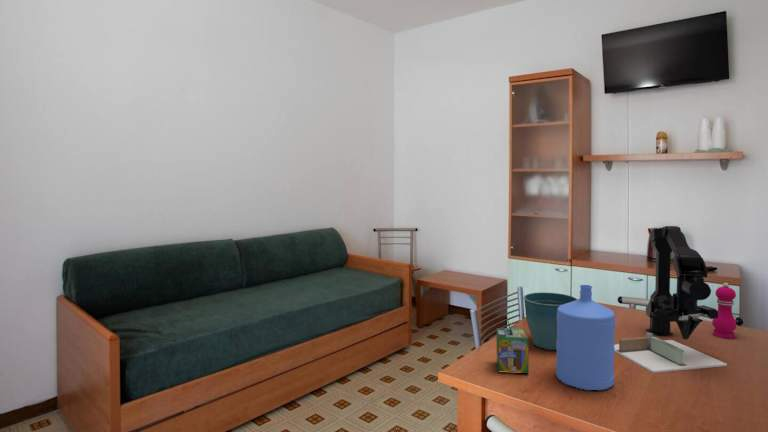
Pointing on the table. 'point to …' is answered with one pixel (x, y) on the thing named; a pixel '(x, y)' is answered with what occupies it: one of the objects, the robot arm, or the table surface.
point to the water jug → (585, 343)
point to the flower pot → (544, 317)
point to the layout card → (655, 362)
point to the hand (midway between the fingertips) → (685, 339)
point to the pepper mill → (724, 313)
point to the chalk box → (512, 350)
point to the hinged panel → (667, 350)
